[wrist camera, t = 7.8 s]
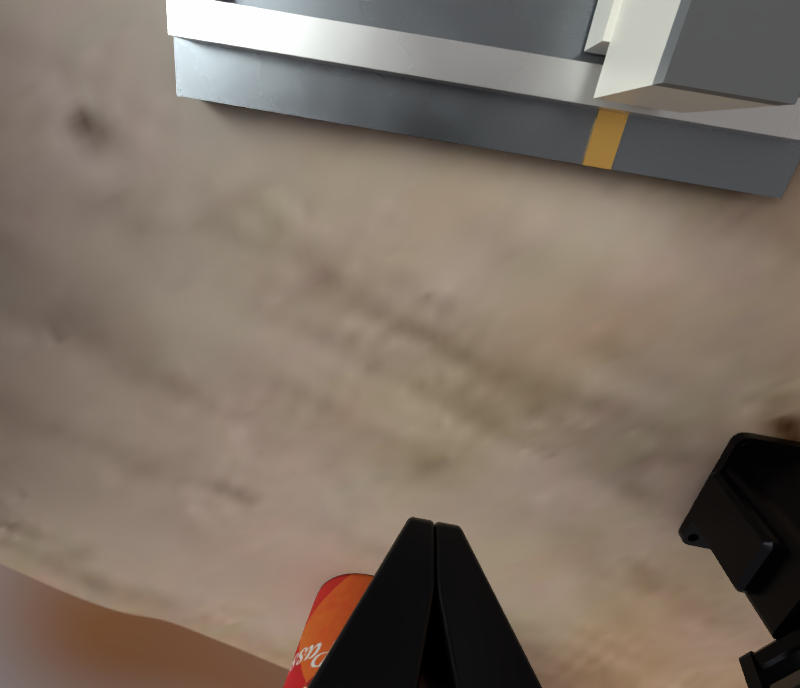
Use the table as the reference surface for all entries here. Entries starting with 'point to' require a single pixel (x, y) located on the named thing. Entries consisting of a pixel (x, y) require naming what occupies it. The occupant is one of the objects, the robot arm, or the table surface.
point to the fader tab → (697, 53)
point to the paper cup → (325, 625)
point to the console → (468, 84)
